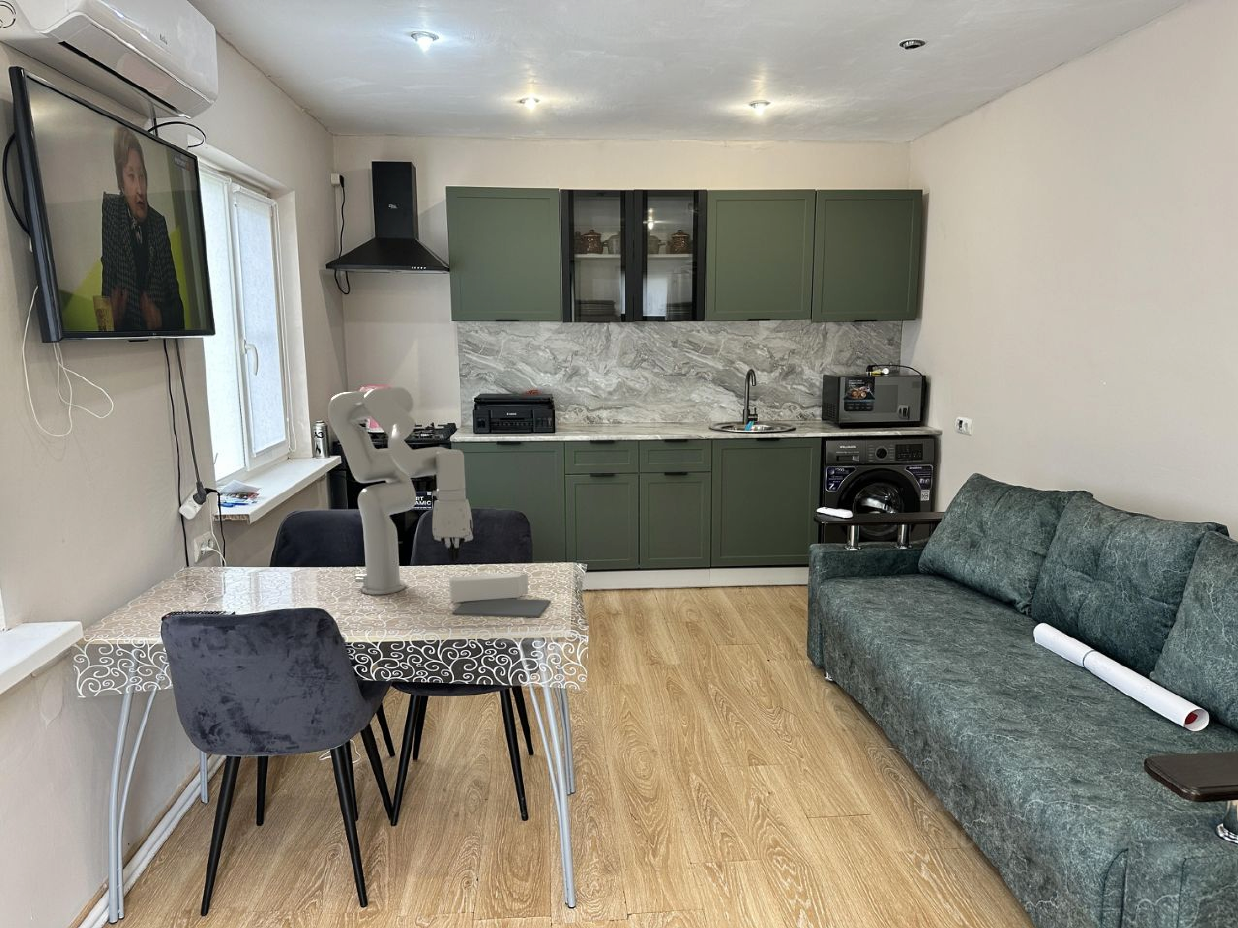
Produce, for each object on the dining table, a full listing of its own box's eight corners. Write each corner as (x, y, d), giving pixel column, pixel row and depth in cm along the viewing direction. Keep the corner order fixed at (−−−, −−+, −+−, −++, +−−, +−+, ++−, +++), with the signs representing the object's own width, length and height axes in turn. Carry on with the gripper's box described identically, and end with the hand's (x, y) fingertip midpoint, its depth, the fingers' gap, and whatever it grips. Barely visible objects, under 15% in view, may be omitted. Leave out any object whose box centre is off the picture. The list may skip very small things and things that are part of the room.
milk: (451, 602, 217) (529, 597, 224) (451, 580, 217) (529, 576, 223) (449, 597, 223) (525, 592, 229) (449, 576, 222) (525, 572, 229)
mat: (452, 614, 210) (451, 612, 210) (468, 599, 223) (468, 597, 223) (538, 617, 207) (538, 615, 207) (550, 602, 219) (550, 600, 219)
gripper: (419, 497, 210) (423, 563, 212) (473, 498, 208) (476, 565, 210) (430, 492, 217) (433, 556, 220) (482, 493, 215) (485, 558, 218)
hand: (454, 560), depth 215 cm, fingers closed
